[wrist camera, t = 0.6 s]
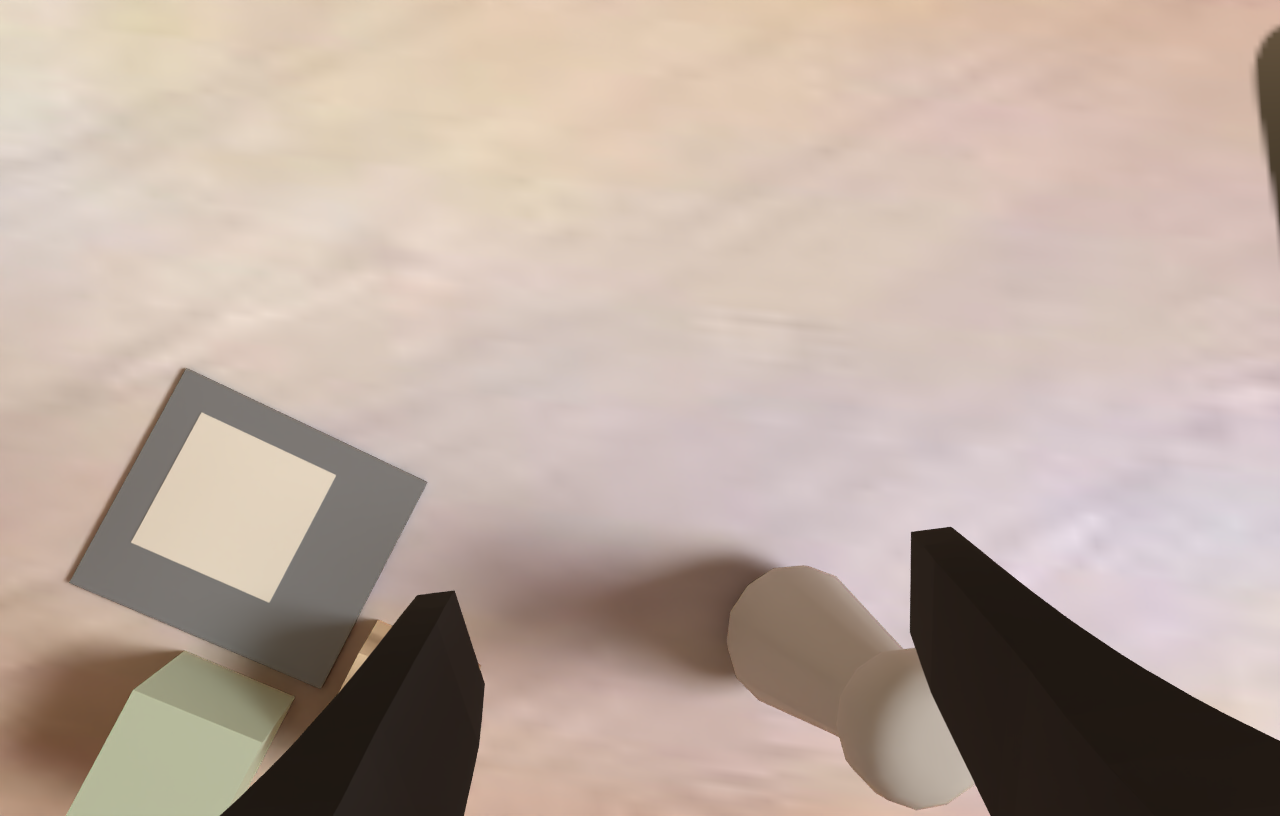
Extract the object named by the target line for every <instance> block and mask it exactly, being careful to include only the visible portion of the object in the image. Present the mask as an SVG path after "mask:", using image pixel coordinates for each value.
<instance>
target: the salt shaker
mask: <svg viewBox="0 0 1280 816" xmlns="http://www.w3.org/2000/svg"><path fill="white" fill-rule="evenodd" d="M726 643H727V646H728V650H729V654H730V657H731V661H732V665H733V668H734V672H735V675H736V678H737V679H738V680H739V681H740V682H741V683H742V684H743V685H744V686H745V687H746V688H747V689H748V690H749V691H750V692H751V693H752V694H753V695H754V696H755V697H756V698H757V699H758V700H759V701H762V702H764V703H766V704H768V705H770V706H773V707H775V708H777V709H779V710H781V711H784V712H786V713H788V714H790V715H792V716H795V717H797V718H799V719H801V720H803V721H806V722H808V723H810V724H812V725H814V726H817V727H819V728H821V729H823V730H825V731H828V732H830V733H832V734H834V735H836V736H838V737H839V738H840V741H841V745H842V748H843V752H844V755H845V759H846V761H847V762H848V763H849V765H850V766H851V767H852V768H853V770H854V771H855V772H856V773H857V774H858V775H859V776H860V777H861V778H862V779H863V780H864V781H865V782H866V783H867V784H868V785H869V786H870V788H871V789H872V790H873V791H874V792H875V793H877V794H878V795H880V796H882V797H884V798H885V799H887V800H889V801H892V802H895V803H897V804H900V805H903V806H906V807H909V808H912V809H915V810H920V809H926V808H931V807H937V806H942V805H947V804H948V803H950V802H951V801H953V800H954V799H955V798H957V797H958V796H960V795H961V794H963V793H964V792H965V791H967V790H968V789H970V788H971V787H972V786H973V785H974V781H973V779H972V777H971V775H970V772H969V770H968V768H967V766H966V764H965V762H964V760H963V758H962V756H961V754H960V752H959V750H958V748H957V746H956V744H955V742H954V740H953V738H952V736H951V734H950V732H949V729H948V727H947V725H946V723H945V721H944V719H943V717H942V715H941V713H940V711H939V709H938V707H937V705H936V702H935V700H934V698H933V696H932V694H931V692H930V689H929V686H928V683H927V680H926V678H925V675H924V672H923V669H922V666H921V664H920V661H919V658H918V655H917V652H916V649H915V648H910V649H903V648H902V647H901V646H900V645H899V644H898V643H897V642H896V641H895V639H894V638H893V637H892V636H891V635H890V634H889V633H888V632H887V631H886V630H885V629H884V628H883V627H882V625H881V624H880V623H879V622H878V621H877V620H876V619H875V618H874V617H873V616H872V615H871V614H870V612H869V611H868V610H867V609H866V608H865V607H864V606H863V605H862V604H861V603H860V602H859V601H858V599H857V598H856V597H855V596H854V595H853V594H852V593H851V592H850V591H849V590H848V589H847V588H846V587H845V585H844V584H843V583H842V582H841V581H840V580H839V579H838V578H837V577H836V576H834V575H831V574H828V573H826V572H823V571H820V570H817V569H815V568H812V567H809V566H804V565H802V566H792V567H782V568H773V569H772V570H770V571H769V572H767V573H766V574H764V575H763V576H761V577H760V578H758V579H757V580H755V581H754V582H752V583H750V584H749V585H748V586H747V587H746V589H745V590H744V592H743V593H742V595H741V596H740V598H739V599H738V601H737V602H736V604H735V605H734V607H733V608H732V610H731V611H730V618H729V626H728V634H727V642H726Z"/></svg>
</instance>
